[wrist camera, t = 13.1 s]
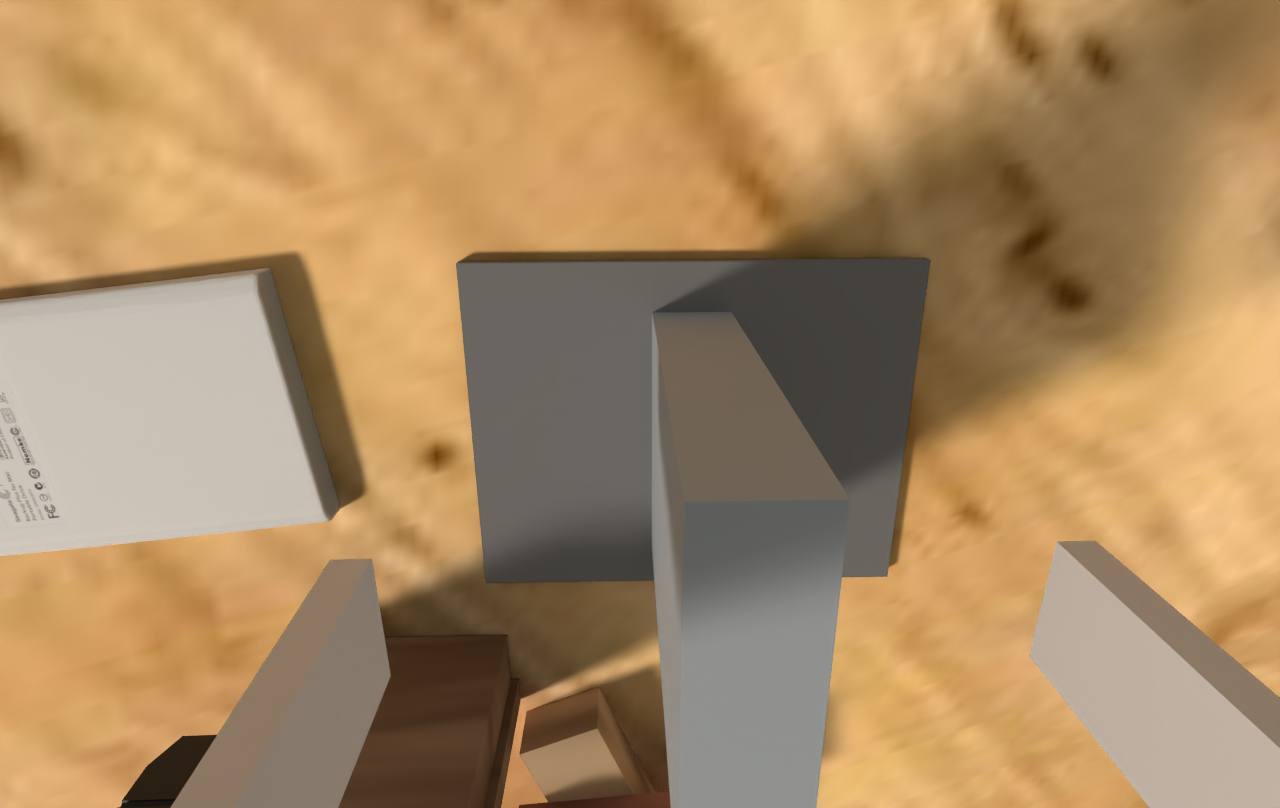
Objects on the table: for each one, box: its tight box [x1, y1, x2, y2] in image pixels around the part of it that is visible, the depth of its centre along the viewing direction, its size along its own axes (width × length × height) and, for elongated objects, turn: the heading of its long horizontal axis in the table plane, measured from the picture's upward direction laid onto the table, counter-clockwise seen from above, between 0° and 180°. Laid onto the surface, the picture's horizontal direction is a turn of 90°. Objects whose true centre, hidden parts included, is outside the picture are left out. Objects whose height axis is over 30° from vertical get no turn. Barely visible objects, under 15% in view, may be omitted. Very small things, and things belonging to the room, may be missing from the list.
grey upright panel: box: [652, 312, 850, 808], centre depth 17 cm, size 8×2×12 cm, turn 0°
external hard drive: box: [0, 268, 340, 556], centre depth 23 cm, size 2×8×12 cm
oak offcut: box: [520, 687, 655, 802], centre depth 28 cm, size 9×3×2 cm, turn 22°
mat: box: [456, 258, 930, 583], centre depth 23 cm, size 11×14×1 cm
